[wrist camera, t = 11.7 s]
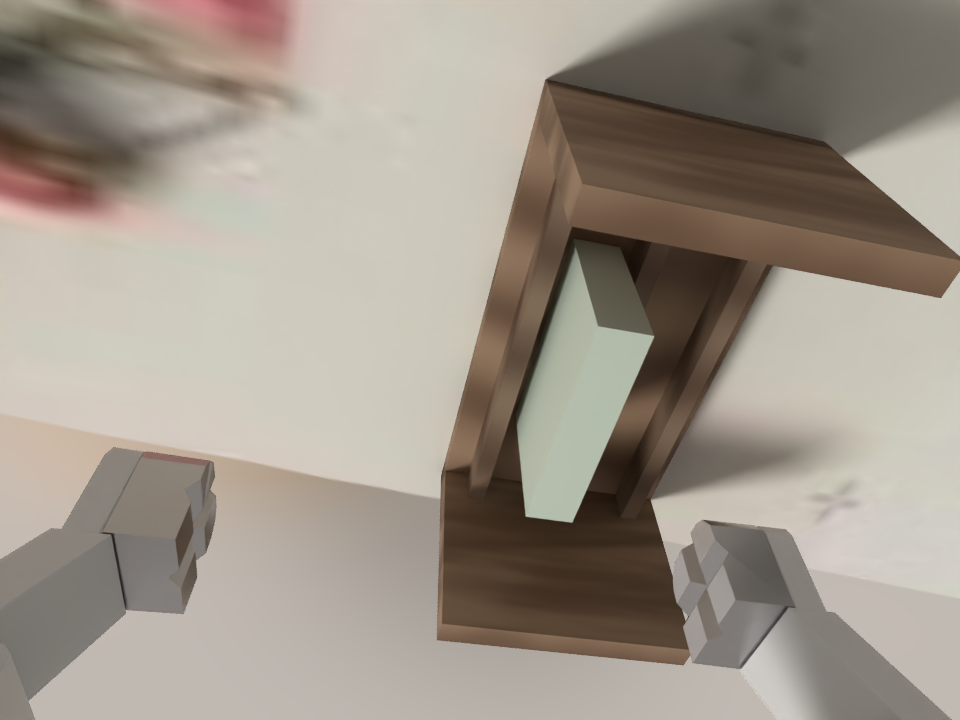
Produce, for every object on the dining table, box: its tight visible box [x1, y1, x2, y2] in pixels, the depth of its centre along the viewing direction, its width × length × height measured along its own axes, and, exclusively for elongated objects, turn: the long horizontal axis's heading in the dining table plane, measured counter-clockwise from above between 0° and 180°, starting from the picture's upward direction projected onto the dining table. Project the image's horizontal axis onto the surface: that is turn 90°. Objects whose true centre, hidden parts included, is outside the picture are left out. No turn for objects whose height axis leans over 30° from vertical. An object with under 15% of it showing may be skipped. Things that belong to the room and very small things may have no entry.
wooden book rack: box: [437, 80, 960, 665], centre depth 36 cm, size 26×14×12 cm, turn 168°
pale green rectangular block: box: [516, 238, 654, 523], centre depth 37 cm, size 12×2×8 cm, turn 168°
